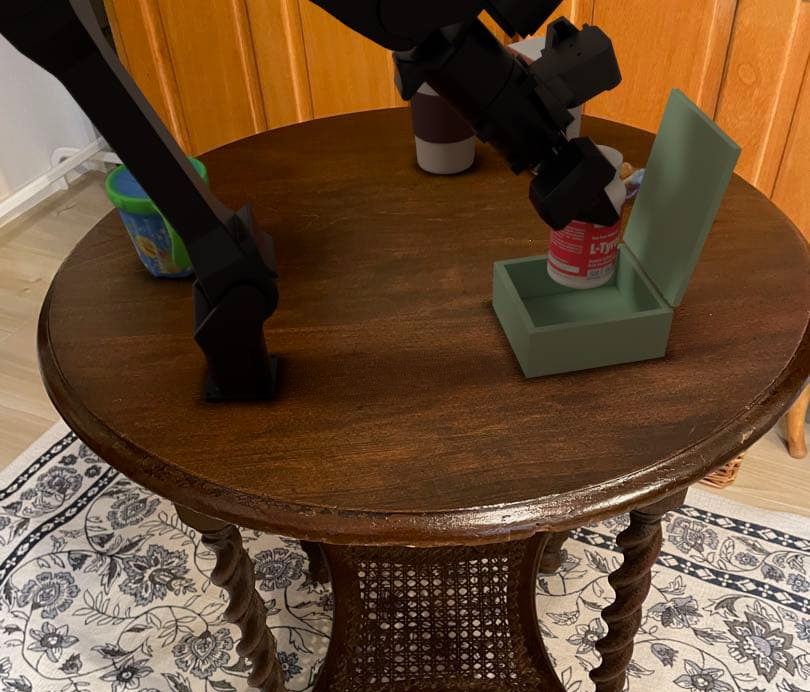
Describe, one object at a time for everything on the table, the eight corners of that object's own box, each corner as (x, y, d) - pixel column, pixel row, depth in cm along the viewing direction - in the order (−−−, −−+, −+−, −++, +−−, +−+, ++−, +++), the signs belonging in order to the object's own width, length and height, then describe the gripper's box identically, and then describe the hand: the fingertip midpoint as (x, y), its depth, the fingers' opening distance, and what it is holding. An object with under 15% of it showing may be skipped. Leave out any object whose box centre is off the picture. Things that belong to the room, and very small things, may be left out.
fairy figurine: (662, 214, 93) (588, 162, 99) (651, 252, 97) (581, 200, 103) (736, 182, 97) (661, 135, 103) (723, 220, 101) (651, 172, 107)
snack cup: (236, 289, 93) (217, 199, 86) (139, 309, 92) (110, 219, 84) (214, 222, 103) (195, 136, 96) (126, 239, 102) (99, 153, 94)
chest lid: (733, 148, 68) (742, 148, 68) (671, 87, 76) (679, 88, 76) (671, 307, 78) (679, 307, 78) (622, 238, 86) (629, 238, 86)
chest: (526, 378, 81) (529, 333, 77) (492, 305, 89) (493, 261, 85) (664, 357, 82) (674, 311, 78) (618, 286, 90) (625, 242, 87)
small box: (501, 153, 112) (505, 44, 103) (541, 141, 114) (549, 32, 104) (536, 177, 107) (543, 64, 98) (578, 164, 109) (589, 52, 100)
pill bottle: (589, 299, 78) (607, 179, 70) (533, 277, 81) (543, 159, 72) (625, 270, 81) (646, 152, 73) (570, 249, 84) (584, 133, 76)
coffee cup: (404, 149, 114) (399, 23, 103) (479, 143, 115) (481, 17, 103) (410, 183, 108) (404, 53, 97) (489, 177, 108) (492, 47, 97)
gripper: (607, 38, 57) (724, 181, 66) (528, -41, 69) (636, 89, 79) (487, 169, 62) (611, 285, 71) (433, 74, 74) (545, 184, 84)
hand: (602, 204), depth 76 cm, fingers closed on pill bottle, 6 cm apart
